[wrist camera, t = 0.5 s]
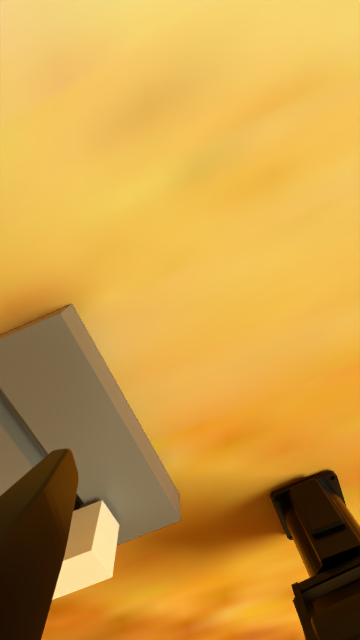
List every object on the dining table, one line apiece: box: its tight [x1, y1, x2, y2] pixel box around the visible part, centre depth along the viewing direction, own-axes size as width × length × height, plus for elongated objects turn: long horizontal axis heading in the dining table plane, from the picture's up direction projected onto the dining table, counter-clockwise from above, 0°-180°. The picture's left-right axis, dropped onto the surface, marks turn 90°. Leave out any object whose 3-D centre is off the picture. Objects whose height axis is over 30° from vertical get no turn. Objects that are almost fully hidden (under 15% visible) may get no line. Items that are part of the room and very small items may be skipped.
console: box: [0, 304, 181, 545], centre depth 22 cm, size 20×14×3 cm
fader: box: [52, 500, 119, 600], centre depth 21 cm, size 3×5×5 cm, turn 113°
